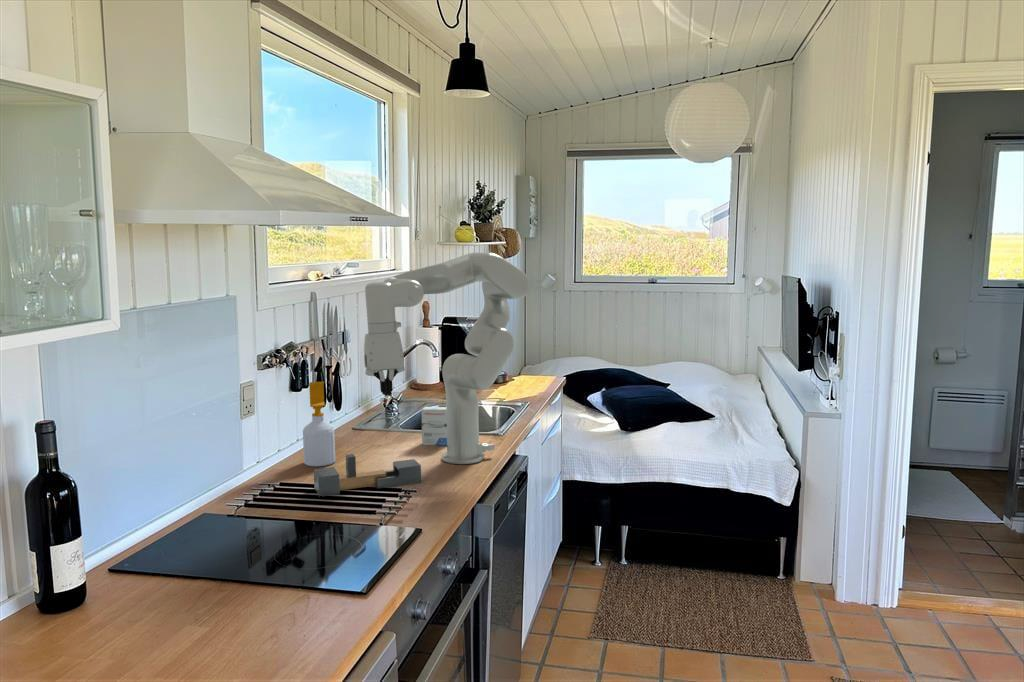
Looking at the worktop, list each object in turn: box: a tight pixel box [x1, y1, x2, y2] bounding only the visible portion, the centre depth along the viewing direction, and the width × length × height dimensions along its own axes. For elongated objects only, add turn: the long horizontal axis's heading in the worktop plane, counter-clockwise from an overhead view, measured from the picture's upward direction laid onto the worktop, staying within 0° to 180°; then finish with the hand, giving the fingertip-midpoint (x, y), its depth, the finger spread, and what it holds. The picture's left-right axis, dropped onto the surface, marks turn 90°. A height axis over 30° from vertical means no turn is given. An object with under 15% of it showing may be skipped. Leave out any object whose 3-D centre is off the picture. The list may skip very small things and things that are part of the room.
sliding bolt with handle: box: [339, 453, 386, 491], centre depth 207 cm, size 16×3×8 cm, turn 113°
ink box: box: [421, 406, 447, 446], centre depth 250 cm, size 8×5×12 cm, turn 84°
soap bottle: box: [302, 381, 336, 468], centre depth 229 cm, size 9×9×25 cm
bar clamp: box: [313, 458, 422, 498], centre depth 208 cm, size 27×7×5 cm, turn 113°
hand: (386, 394), depth 213 cm, fingers closed
